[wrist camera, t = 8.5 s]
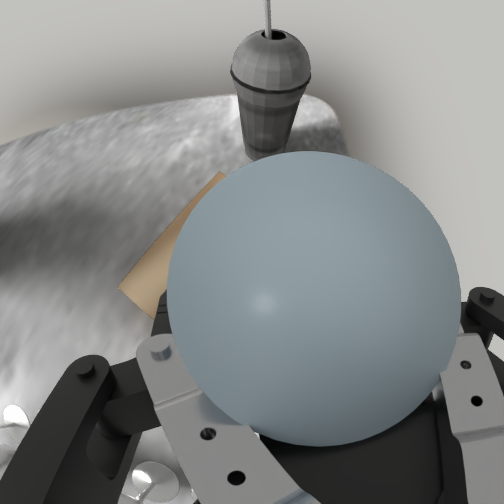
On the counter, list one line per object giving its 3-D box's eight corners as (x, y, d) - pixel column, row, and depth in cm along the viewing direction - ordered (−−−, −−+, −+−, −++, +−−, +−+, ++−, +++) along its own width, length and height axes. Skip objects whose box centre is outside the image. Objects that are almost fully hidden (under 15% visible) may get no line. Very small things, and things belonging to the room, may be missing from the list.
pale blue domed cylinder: (198, 352, 15) (104, 312, 5) (261, 271, 17) (285, 113, 6) (285, 414, 14) (368, 495, 4) (344, 328, 16) (487, 250, 5)
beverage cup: (264, 184, 33) (281, 11, 15) (220, 147, 35) (207, -13, 16) (308, 151, 35) (345, -3, 17) (264, 118, 37) (275, -28, 18)
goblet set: (245, 473, 23) (245, 545, 10) (236, 521, 21) (232, 603, 8) (2, 392, 23) (-83, 384, 11) (0, 435, 21) (-81, 441, 9)
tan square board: (133, 298, 28) (116, 286, 24) (221, 194, 33) (218, 169, 28) (233, 378, 26) (231, 379, 22) (319, 258, 30) (330, 239, 26)
